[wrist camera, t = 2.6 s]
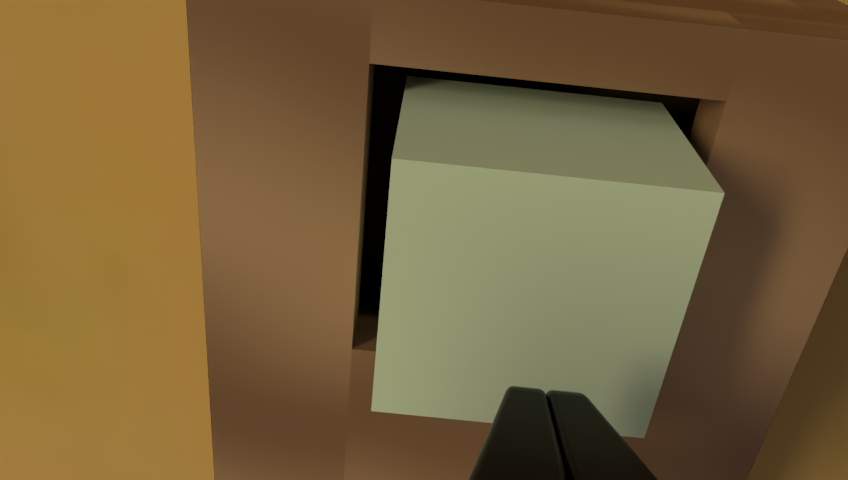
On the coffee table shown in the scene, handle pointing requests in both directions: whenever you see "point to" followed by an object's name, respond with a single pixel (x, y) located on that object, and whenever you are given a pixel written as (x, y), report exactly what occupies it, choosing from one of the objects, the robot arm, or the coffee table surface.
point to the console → (517, 59)
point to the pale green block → (536, 250)
